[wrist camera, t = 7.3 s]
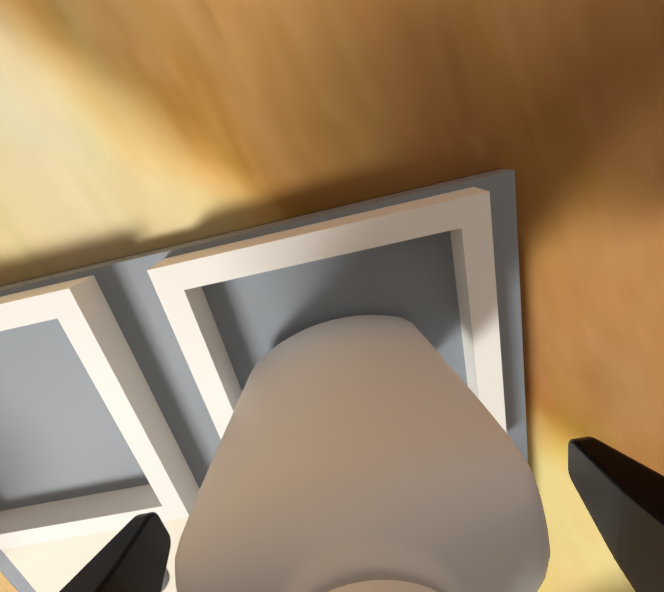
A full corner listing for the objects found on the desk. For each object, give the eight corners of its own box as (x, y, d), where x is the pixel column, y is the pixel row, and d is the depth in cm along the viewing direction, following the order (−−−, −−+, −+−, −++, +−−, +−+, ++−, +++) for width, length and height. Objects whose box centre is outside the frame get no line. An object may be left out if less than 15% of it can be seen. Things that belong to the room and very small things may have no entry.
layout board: (524, 552, 18) (609, 729, 13) (69, 620, 20) (-31, 799, 15) (502, 168, 11) (660, 189, 6) (-172, 326, 13) (-519, 451, 8)
